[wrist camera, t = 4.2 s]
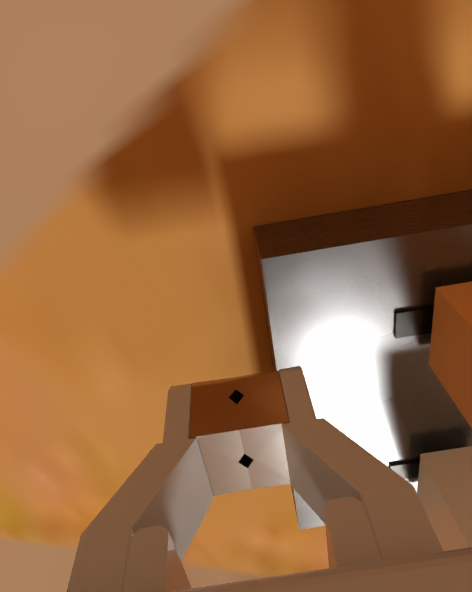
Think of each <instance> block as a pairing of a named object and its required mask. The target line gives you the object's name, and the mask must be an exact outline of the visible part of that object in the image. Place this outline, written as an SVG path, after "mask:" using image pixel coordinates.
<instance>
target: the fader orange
mask: <svg viewBox="0 0 472 592" xmlns="http://www.w3.org/2000/svg"><path fill="white" fill-rule="evenodd" d="M429 366H430V367H431V369H432V370H433V372H434V373H435V375H436V376H437V378H438V379H439V381H440V382H441V384H442V385H443V387H444V388H445V389H446V391H447V392H448V394H449V395H450V397H451V398H452V400H453V401H454V403H455V404H456V406H457V407H458V409H459V410H460V412H461V413H462V415H463V416H464V418H465V419H466V421H467V422H468V424H469V425H470V427H471V428H472V282H466V283H460V284H454V285H447V286H441V287H436V290H435V301H434V312H433V323H432V334H431V344H430V355H429Z"/></svg>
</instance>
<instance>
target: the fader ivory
mask: <svg viewBox="0 0 472 592" xmlns="http://www.w3.org/2000/svg"><path fill="white" fill-rule="evenodd" d="M417 495H418V497H419V499H420V501H421V503H422V506H423V508H424V510H425V512H426V514H427V516H428V519H429V521H430V523H431V525H432V527H433V529H434V532H435V534H436V536H437V538H438V540H439V542H440V545H441V547H442V549H443V551H450V550H457V549H464V548H470V547H472V446H469V447H463V448H456V449H450V450H443V451H436V452H430V453H423V454H420V465H419V476H418V487H417Z"/></svg>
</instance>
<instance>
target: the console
mask: <svg viewBox="0 0 472 592" xmlns="http://www.w3.org/2000/svg"><path fill="white" fill-rule="evenodd" d="M253 229H254V236H255V243H256V250H257V257H258V264H259V271H260V277H261V284H262V291H263V298H264V305H265V312H266V319H267V326H268V332H269V339H270V346H271V353H272V360H273V367H274V371H276V370H279V369H285V368H290V367H296V366H300V367H301V368H302V370H303V374H304V377H305V381H306V384H307V388H308V391H309V394H310V398H311V401H312V405H313V408H314V412H315V415H316V418H317V419H320V418H324V419H325V420H327V421H328V422H329V423H331V424H332V425H333V426H335V427H336V428H337V429H339V430H340V431H341V432H343V433H344V434H345V435H347V436H348V437H349V438H351V439H352V440H353V441H355V442H356V443H357V444H359V445H360V446H361V447H363V448H364V449H365V450H367V451H368V452H369V453H371V454H372V455H373V456H375V457H376V458H377V459H379V460H380V461H381V462H383V463H384V464H385V465H387V466H388V467H389V468H391V469H392V470H393V471H395V472H396V473H397V474H399V475H400V476H401V477H402V478H404V479H405V480H406V481H408V482H409V483H410V484H412V485H413V486H414V488H415V490H416V492H417V487H418V476H419V465H420V454H423V453H430V452H436V451H443V450H450V449H456V448H463V447H469V446H472V428H471V427H470V425H469V424H468V422H467V421H466V419H465V418H464V416H463V415H462V413H461V412H460V410H459V409H458V407H457V406H456V404H455V403H454V401H453V400H452V398H451V397H450V395H449V394H448V392H447V391H446V389H445V388H444V387H443V385H442V384H441V382H440V381H439V379H438V378H437V376H436V375H435V373H434V372H433V370H432V369H431V367H430V366H429V355H430V344H431V334H432V323H433V312H434V301H435V290H436V287H441V286H447V285H454V284H460V283H466V282H472V190H469V191H463V192H457V193H452V194H446V195H440V196H434V197H428V198H422V199H416V200H410V201H404V202H398V203H392V204H387V205H381V206H375V207H369V208H363V209H357V210H351V211H345V212H339V213H333V214H327V215H322V216H316V217H310V218H304V219H298V220H292V221H286V222H280V223H274V224H268V225H263V226H257V227H253ZM291 488H292V494H293V499H294V504H295V510H296V515H297V520H298V526H299V529H305V528H312V527H318V526H325V524H324V522H323V521H322V520H321V519H320V518H319V517H318V516H317V514H316V513H315V512H314V511H313V510H312V509H311V508H310V506H309V505H308V504H307V503H306V502H305V501H304V500H303V498H302V497H301V496H300V495H299V494H298V493H297V492H296V490H295V489H294V488H293V487H292V486H291Z"/></svg>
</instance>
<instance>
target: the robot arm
mask: <svg viewBox="0 0 472 592" xmlns="http://www.w3.org/2000/svg"><path fill="white" fill-rule="evenodd" d="M286 484H291V486H292V487H293V488H294V489H295V490H296V492H297V493H298V494H299V495H300V496H301V497H302V498H303V500H304V501H305V502H306V503H307V504H308V505H309V506H310V508H311V509H312V510H313V511H314V512H315V513H316V514H317V516H318V517H319V518H320V519H321V520H322V521H323V522H324V524H325V525H326V536H327V548H328V560H329V568H328V569H321V570H314V571H308V572H301V573H294V574H287V575H280V576H274V577H267V578H260V579H254V580H246V581H240V582H233V583H226V584H220V585H213V586H205V587H199V588H191V585H190V583H189V580H188V578H187V575H186V573H185V570H184V568H183V565H182V563H181V561H182V559H183V557H184V555H185V553H186V551H187V549H188V547H189V545H190V543H191V541H192V540H193V538H194V536H195V534H196V532H197V530H198V528H199V526H200V524H201V522H202V520H203V518H204V516H205V514H206V512H207V510H208V509H209V507H210V505H211V503H212V501H213V499H214V497H213V496H214V495H220V494H225V493H231V492H236V491H242V490H247V489H254V488H262V487H270V486H278V485H286ZM67 592H472V547H470V548H464V549H457V550H450V551H443V549H442V547H441V545H440V542H439V540H438V538H437V536H436V534H435V532H434V529H433V527H432V525H431V523H430V521H429V519H428V516H427V514H426V512H425V510H424V508H423V506H422V503H421V501H420V499H419V497H418V495H417V492H416V490H415V488H414V486H413V485H412V484H410V483H409V482H408V481H406V480H405V479H404V478H402V477H401V476H400V475H399V474H397V473H396V472H395V471H393V470H392V469H391V468H389V467H388V466H387V465H385V464H384V463H383V462H381V461H380V460H379V459H377V458H376V457H375V456H373V455H372V454H371V453H369V452H368V451H367V450H365V449H364V448H363V447H361V446H360V445H359V444H357V443H356V442H355V441H353V440H352V439H351V438H349V437H348V436H347V435H345V434H344V433H343V432H341V431H340V430H339V429H337V428H336V427H335V426H333V425H332V424H331V423H329V422H328V421H327V420H325V419H324V418H320V419H317V418H316V415H315V412H314V408H313V405H312V401H311V398H310V394H309V391H308V388H307V384H306V381H305V377H304V374H303V370H302V368H301V367H300V366H296V367H290V368H285V369H279V370H276V371H270V372H264V373H258V374H252V375H246V376H240V377H234V378H226V379H219V380H212V381H204V382H197V383H193V384H185V385H178V386H171V387H170V389H169V391H168V399H167V408H166V417H165V427H164V436H163V443H160V444H156V445H155V446H154V447H153V449H152V450H151V451H150V452H149V453H148V455H147V456H146V457H145V458H144V459H143V461H142V462H141V463H140V464H139V466H138V467H137V468H136V469H135V470H134V472H133V473H132V474H131V475H130V476H129V478H128V479H127V480H126V481H125V482H124V484H123V485H122V486H121V487H120V489H119V490H118V491H117V492H116V493H115V495H114V496H113V497H112V498H111V499H110V501H109V502H108V503H107V504H106V505H105V507H104V508H103V509H102V510H101V512H100V513H99V514H98V515H97V516H96V518H95V519H94V520H93V521H92V522H91V524H90V525H89V526H88V527H87V528H86V530H85V531H84V532H83V533H82V535H81V537H80V541H79V545H78V549H77V553H76V557H75V561H74V565H73V569H72V573H71V577H70V581H69V585H68V589H67Z"/></svg>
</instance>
